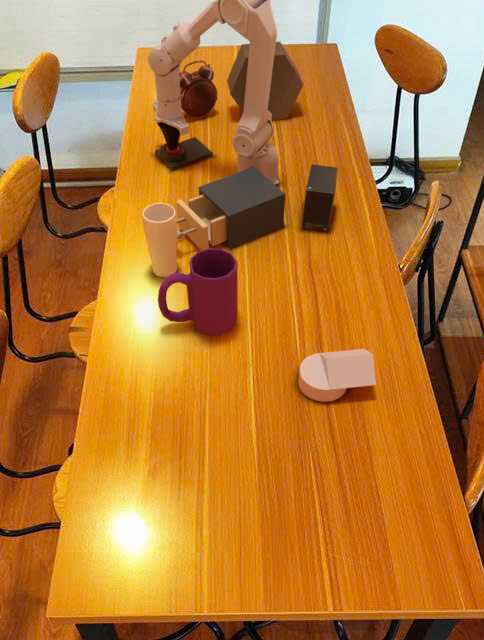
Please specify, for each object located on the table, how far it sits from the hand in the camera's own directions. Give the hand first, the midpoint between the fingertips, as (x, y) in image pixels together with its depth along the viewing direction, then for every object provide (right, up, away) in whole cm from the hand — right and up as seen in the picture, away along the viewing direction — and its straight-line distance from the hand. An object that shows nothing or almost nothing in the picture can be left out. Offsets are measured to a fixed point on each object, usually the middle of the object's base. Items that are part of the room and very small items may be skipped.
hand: (172, 148), depth 174 cm
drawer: (+9, -26, -19) cm, 33 cm away
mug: (+8, -48, -35) cm, 60 cm away
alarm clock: (+6, +14, +16) cm, 22 cm away
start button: (0, -1, +1) cm, 2 cm away
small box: (+35, -21, -14) cm, 43 cm away
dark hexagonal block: (+24, +15, +16) cm, 33 cm away
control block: (+3, -1, +3) cm, 4 cm away
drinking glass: (0, -36, -25) cm, 44 cm away
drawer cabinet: (+17, -23, -15) cm, 32 cm away
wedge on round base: (+33, -60, -46) cm, 83 cm away
